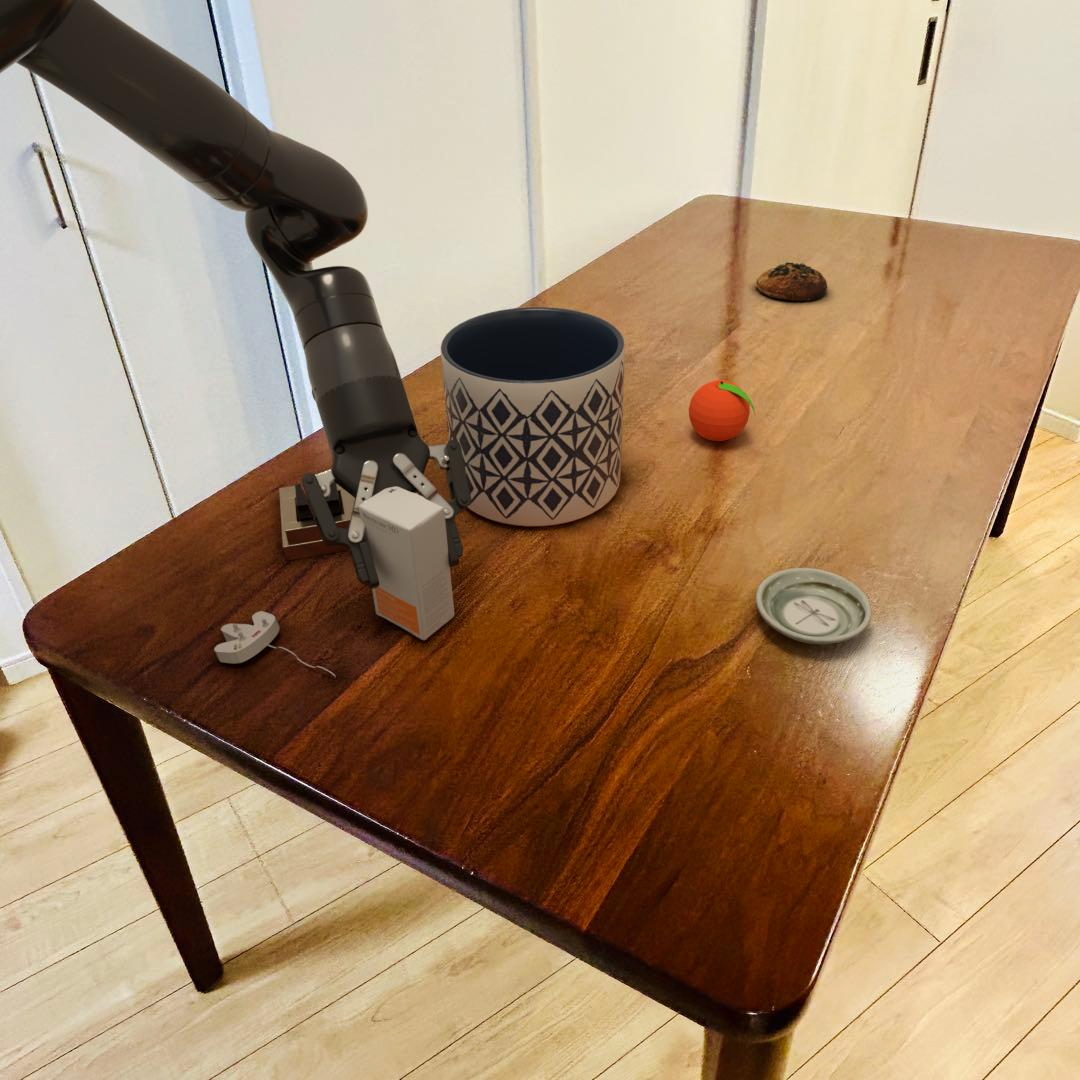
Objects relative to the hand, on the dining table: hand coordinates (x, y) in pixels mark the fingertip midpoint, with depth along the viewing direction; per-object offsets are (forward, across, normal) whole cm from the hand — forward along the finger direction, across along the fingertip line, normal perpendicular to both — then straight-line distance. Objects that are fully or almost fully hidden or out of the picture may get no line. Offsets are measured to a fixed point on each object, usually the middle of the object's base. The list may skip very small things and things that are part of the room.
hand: (414, 575), depth 75 cm
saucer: (+14, +31, -5) cm, 35 cm away
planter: (-8, +19, +17) cm, 27 cm away
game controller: (+3, -12, +6) cm, 14 cm away
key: (-11, -4, +15) cm, 19 cm away
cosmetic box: (+3, 0, +5) cm, 6 cm away
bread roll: (-32, +78, +42) cm, 94 cm away
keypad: (-10, -1, +19) cm, 21 cm away
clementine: (-7, +42, +17) cm, 46 cm away
